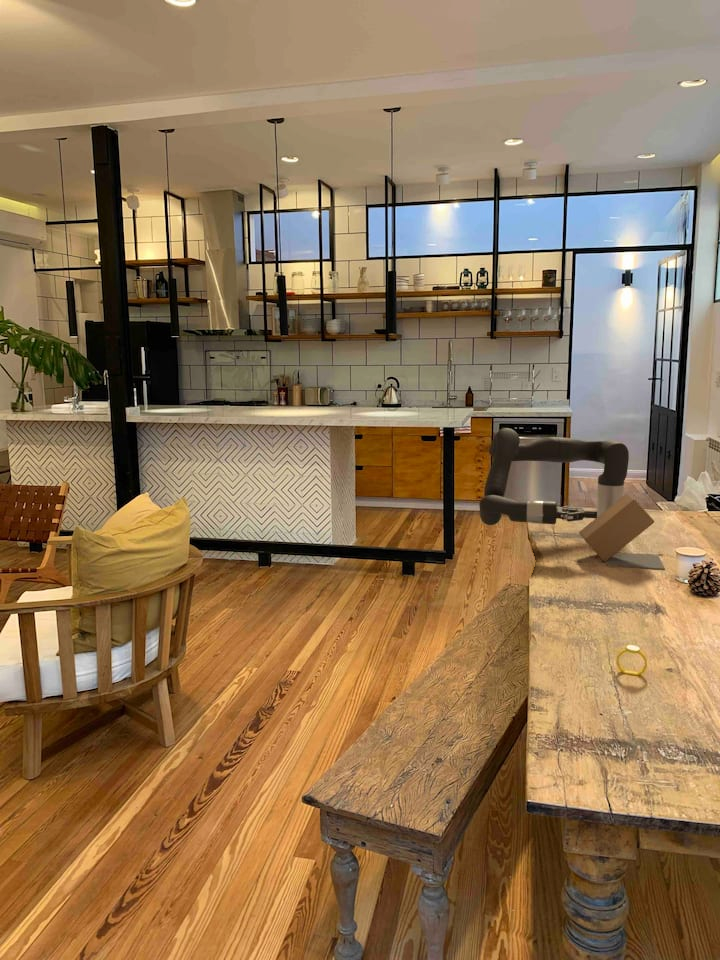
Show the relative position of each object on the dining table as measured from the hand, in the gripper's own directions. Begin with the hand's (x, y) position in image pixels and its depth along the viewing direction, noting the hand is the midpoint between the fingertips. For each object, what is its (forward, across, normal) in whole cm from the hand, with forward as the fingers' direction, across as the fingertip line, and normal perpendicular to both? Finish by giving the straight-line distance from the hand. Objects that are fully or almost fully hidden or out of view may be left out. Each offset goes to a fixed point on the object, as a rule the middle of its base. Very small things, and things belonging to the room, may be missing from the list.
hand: (596, 514), depth 231 cm
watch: (+3, +84, -15) cm, 86 cm away
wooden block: (-1, -1, -11) cm, 11 cm away
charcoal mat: (+12, -1, -15) cm, 19 cm away
